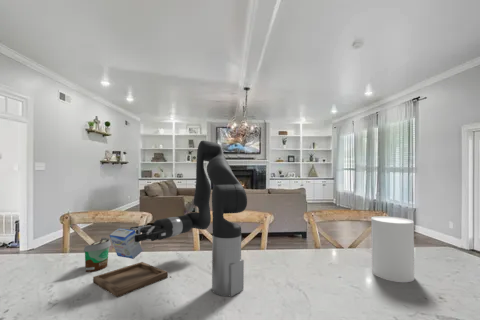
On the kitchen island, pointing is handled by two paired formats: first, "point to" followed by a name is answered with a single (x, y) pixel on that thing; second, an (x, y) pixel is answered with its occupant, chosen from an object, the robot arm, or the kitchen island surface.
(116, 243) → the medicine box
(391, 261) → the canister
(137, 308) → the kitchen island surface
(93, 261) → the food container
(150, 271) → the walnut tray
